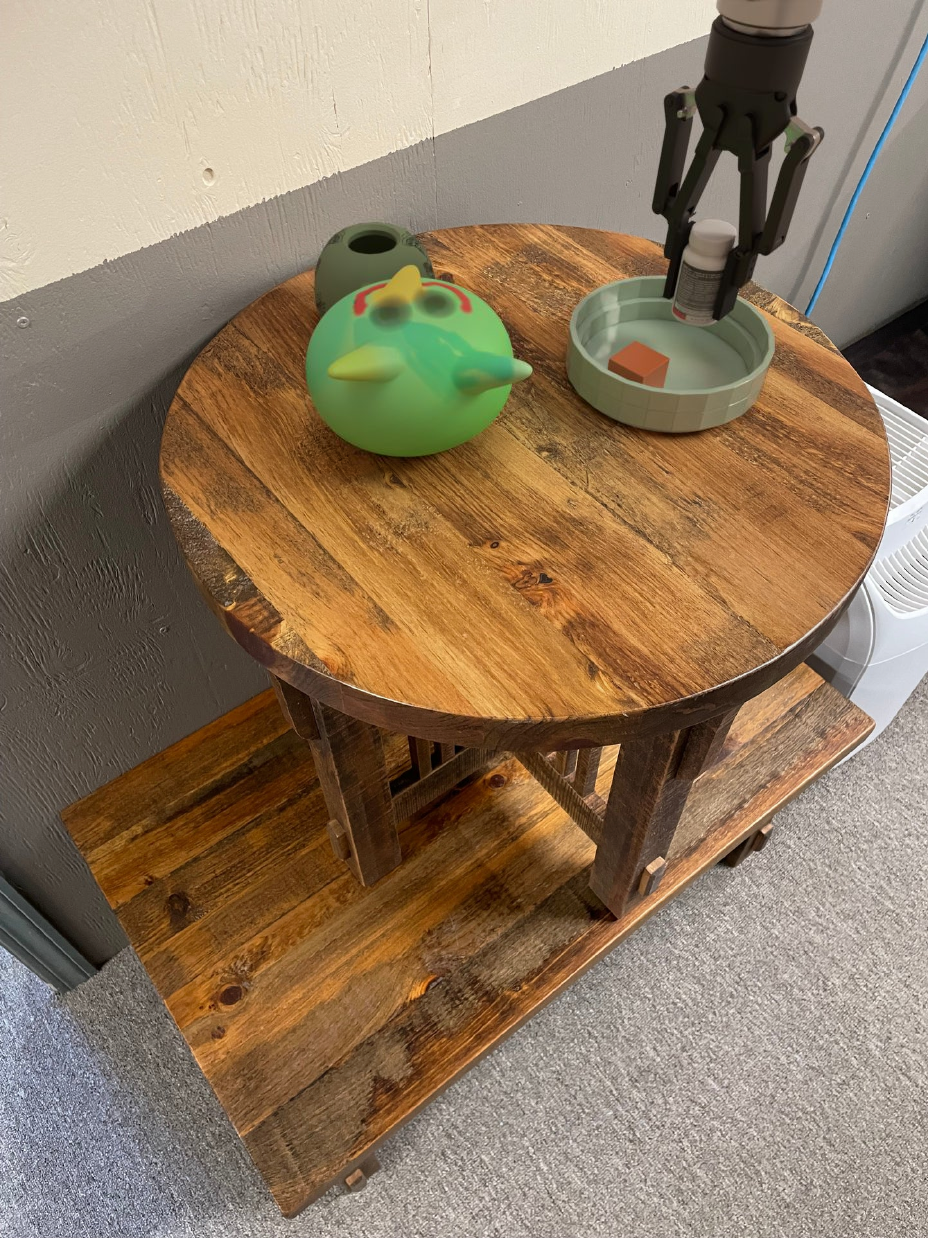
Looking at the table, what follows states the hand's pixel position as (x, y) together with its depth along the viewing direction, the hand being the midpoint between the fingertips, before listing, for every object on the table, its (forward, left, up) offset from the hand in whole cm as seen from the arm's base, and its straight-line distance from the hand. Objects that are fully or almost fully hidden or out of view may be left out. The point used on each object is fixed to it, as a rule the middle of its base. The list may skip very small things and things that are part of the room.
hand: (697, 302), depth 83 cm
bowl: (0, +4, -6) cm, 7 cm away
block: (0, +9, -5) cm, 11 cm away
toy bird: (+12, +27, -6) cm, 30 cm away
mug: (+27, +17, -6) cm, 33 cm away
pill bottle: (0, 0, -1) cm, 1 cm away
